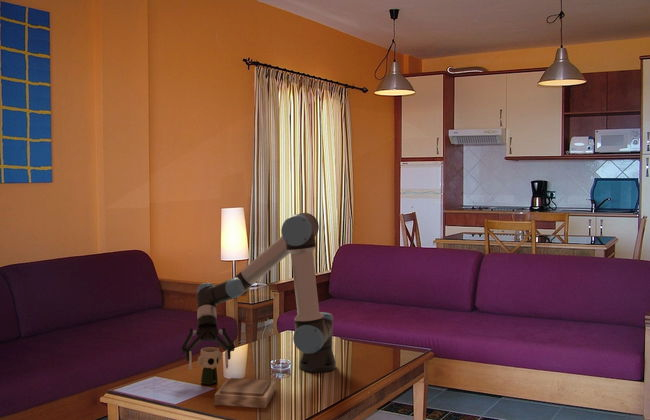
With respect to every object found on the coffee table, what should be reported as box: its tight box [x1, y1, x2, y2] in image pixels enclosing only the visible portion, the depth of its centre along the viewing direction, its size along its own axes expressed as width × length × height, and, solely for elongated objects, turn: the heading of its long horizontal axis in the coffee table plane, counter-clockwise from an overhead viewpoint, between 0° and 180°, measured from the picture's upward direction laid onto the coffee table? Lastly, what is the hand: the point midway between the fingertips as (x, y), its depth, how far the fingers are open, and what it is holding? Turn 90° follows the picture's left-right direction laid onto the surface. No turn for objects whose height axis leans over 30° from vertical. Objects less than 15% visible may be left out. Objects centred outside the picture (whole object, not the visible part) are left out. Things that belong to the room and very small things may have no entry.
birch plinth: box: [214, 377, 276, 409], centre depth 240 cm, size 18×18×4 cm
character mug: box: [197, 346, 223, 385], centre depth 254 cm, size 11×7×13 cm, turn 137°
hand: (208, 367), depth 253 cm, fingers open, 13 cm apart
